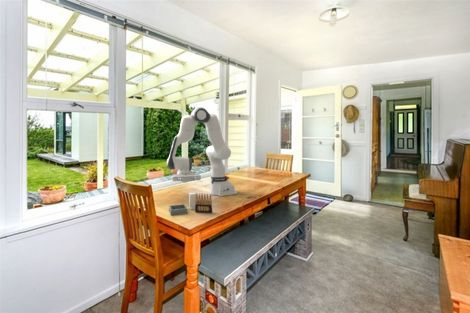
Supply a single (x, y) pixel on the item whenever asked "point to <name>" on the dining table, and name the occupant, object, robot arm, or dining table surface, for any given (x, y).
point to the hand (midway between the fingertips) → (188, 179)
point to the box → (178, 209)
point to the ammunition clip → (203, 204)
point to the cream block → (192, 200)
